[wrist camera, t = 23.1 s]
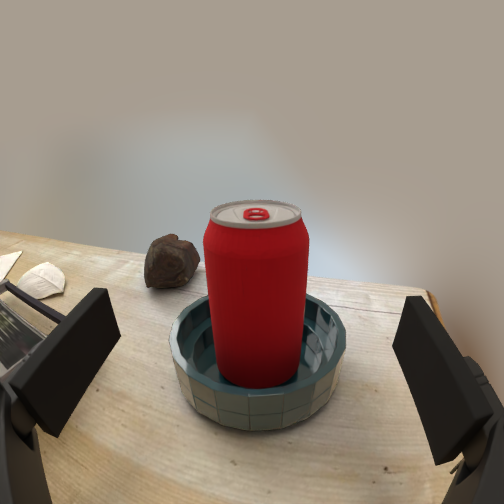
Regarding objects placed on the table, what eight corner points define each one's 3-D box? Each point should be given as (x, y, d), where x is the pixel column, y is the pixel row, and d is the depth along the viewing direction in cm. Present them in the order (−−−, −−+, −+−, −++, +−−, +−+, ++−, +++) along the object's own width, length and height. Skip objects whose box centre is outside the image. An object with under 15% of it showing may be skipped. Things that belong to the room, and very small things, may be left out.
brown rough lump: (163, 225, 39) (143, 239, 30) (206, 244, 40) (199, 263, 31) (149, 264, 40) (127, 287, 31) (191, 282, 41) (180, 310, 32)
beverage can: (293, 338, 24) (300, 197, 20) (304, 392, 18) (323, 225, 14) (219, 340, 24) (207, 199, 19) (214, 396, 18) (192, 228, 14)
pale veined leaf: (0, 281, 30) (7, 295, 32) (40, 298, 28) (48, 314, 29) (32, 254, 37) (38, 267, 38) (78, 263, 34) (83, 278, 36)
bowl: (337, 334, 26) (344, 292, 24) (329, 447, 15) (344, 408, 13) (212, 318, 28) (208, 278, 27) (153, 411, 18) (136, 368, 16)
